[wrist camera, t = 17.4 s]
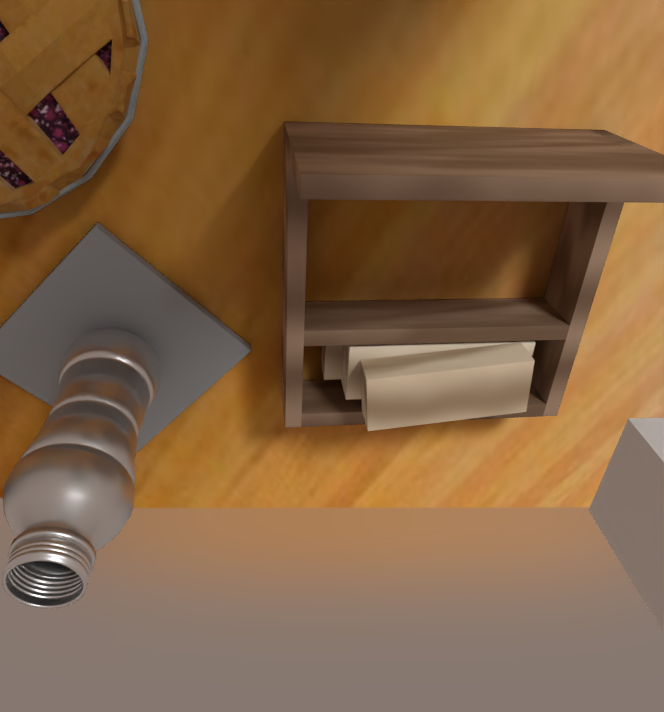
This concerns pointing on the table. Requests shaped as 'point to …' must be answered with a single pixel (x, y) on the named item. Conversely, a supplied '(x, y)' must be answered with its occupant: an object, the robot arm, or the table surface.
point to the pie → (63, 93)
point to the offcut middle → (363, 352)
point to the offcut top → (445, 385)
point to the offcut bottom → (332, 361)
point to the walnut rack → (455, 183)
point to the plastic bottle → (78, 468)
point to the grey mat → (118, 327)
